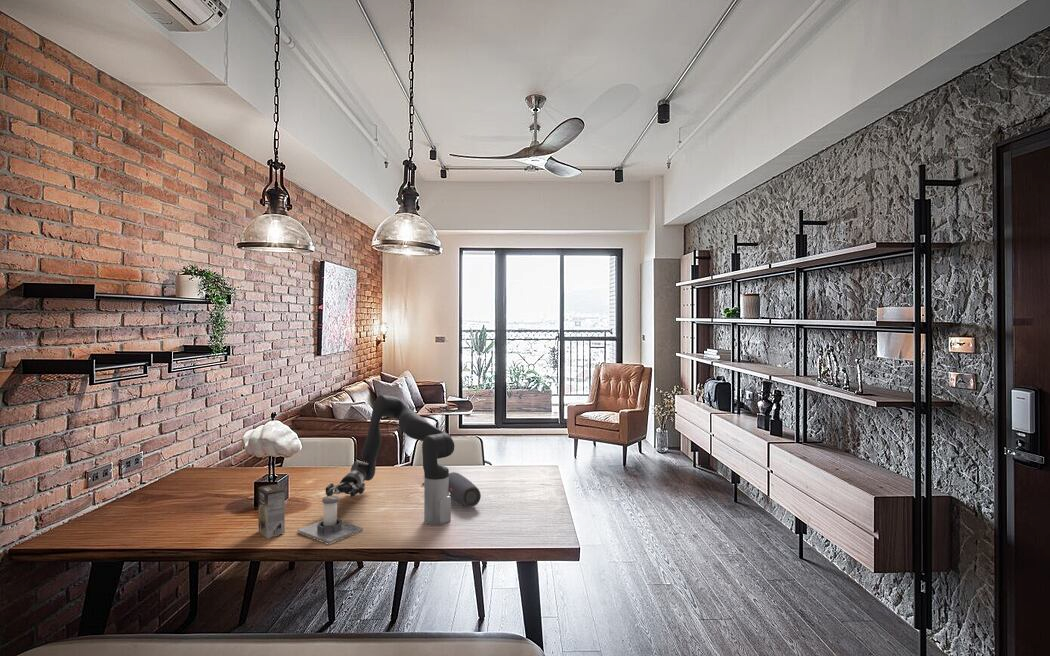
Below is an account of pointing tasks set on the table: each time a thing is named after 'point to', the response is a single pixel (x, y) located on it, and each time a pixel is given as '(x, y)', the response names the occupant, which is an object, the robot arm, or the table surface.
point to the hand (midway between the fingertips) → (339, 495)
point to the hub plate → (329, 536)
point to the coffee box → (271, 510)
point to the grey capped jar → (329, 511)
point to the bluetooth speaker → (463, 490)
